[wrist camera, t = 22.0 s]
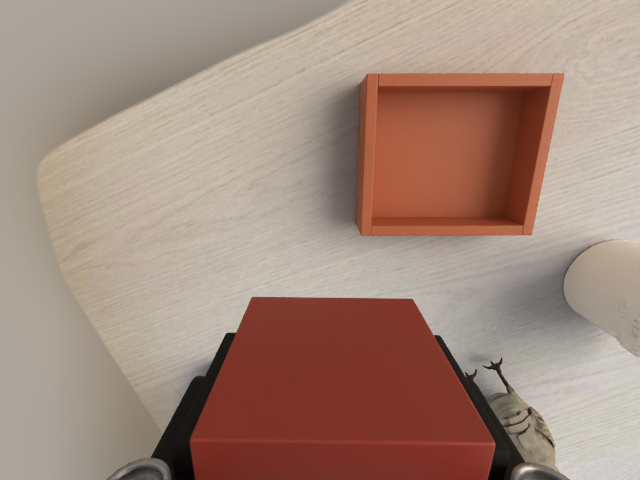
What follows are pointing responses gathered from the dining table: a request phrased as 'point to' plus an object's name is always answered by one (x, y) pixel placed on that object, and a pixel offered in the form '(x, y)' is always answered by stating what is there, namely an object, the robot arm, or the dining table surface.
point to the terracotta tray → (453, 152)
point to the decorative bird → (522, 424)
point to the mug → (608, 290)
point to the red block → (338, 398)
